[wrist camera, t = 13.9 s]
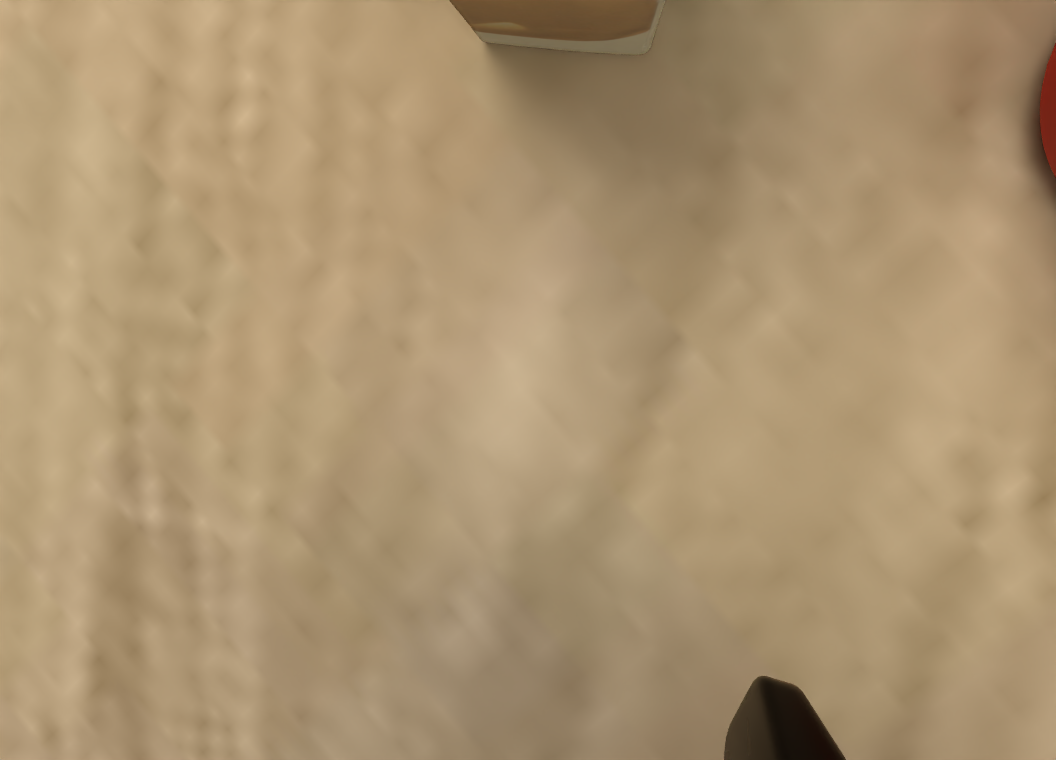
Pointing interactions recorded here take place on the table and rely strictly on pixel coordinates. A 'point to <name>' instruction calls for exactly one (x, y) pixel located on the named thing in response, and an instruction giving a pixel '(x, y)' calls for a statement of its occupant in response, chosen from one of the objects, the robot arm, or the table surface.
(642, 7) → the cosmetic box
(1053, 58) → the red pepper
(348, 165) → the table surface
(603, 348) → the table surface
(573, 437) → the table surface
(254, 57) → the table surface
